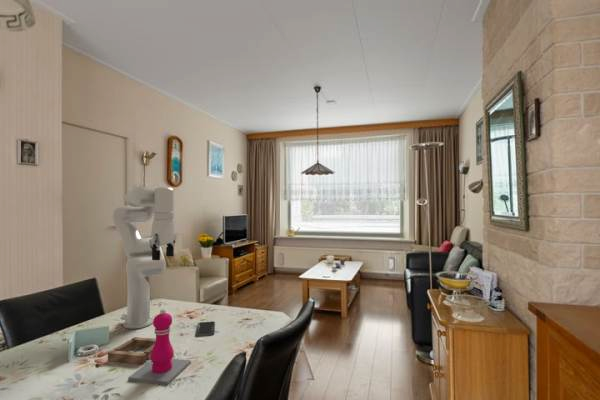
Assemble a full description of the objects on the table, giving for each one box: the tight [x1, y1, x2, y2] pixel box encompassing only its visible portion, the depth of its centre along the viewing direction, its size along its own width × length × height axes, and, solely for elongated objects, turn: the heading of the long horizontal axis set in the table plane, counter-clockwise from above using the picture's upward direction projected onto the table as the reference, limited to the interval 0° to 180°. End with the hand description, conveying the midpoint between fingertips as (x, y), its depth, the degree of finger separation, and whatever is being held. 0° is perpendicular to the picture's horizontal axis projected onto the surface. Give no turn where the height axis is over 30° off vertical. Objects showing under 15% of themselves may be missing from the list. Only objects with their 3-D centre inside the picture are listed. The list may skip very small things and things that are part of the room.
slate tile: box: [127, 358, 192, 386], centre depth 108 cm, size 14×14×1 cm
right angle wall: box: [67, 324, 110, 360], centre depth 122 cm, size 12×12×8 cm
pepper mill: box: [150, 308, 175, 373], centre depth 108 cm, size 7×7×20 cm
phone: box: [195, 320, 216, 338], centre depth 145 cm, size 8×1×15 cm
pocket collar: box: [107, 336, 156, 366], centre depth 120 cm, size 14×14×3 cm
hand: (163, 258), depth 132 cm, fingers open, 9 cm apart
